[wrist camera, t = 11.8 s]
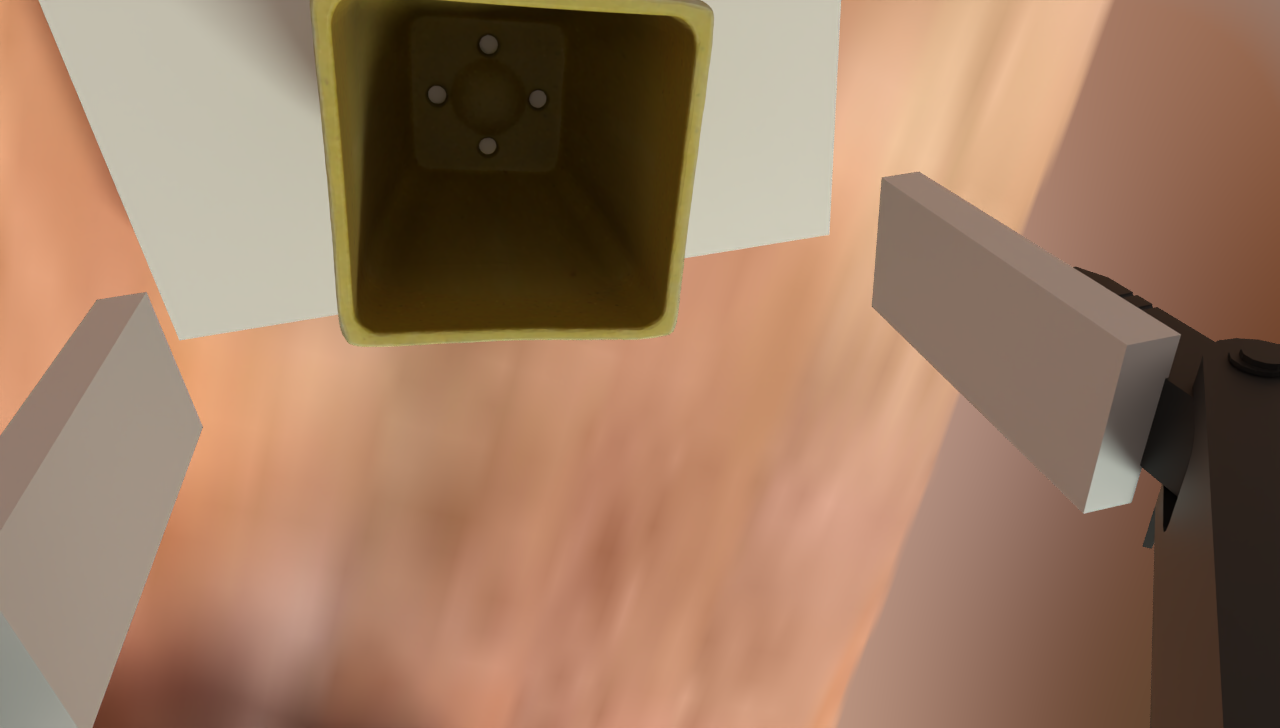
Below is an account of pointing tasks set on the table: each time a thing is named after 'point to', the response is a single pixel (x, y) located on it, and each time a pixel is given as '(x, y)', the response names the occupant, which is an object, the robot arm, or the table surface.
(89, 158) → the table surface
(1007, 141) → the table surface
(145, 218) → the white stand
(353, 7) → the flower pot
